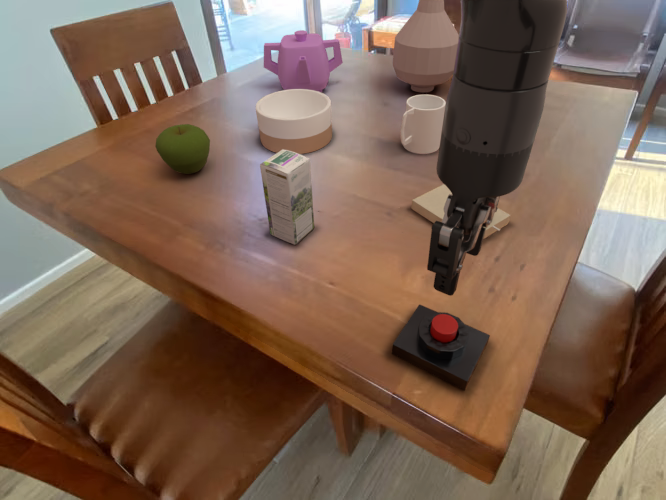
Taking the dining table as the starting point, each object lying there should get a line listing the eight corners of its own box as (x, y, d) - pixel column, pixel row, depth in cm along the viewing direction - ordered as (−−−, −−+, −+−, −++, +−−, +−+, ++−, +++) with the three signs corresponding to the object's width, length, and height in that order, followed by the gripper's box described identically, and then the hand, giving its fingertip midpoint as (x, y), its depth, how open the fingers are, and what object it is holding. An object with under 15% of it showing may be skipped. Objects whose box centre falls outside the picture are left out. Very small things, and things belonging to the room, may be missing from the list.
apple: (154, 177, 92) (139, 134, 85) (186, 154, 99) (174, 112, 92) (195, 187, 88) (183, 143, 82) (225, 163, 95) (215, 120, 89)
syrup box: (290, 218, 80) (281, 147, 70) (316, 229, 77) (310, 156, 67) (269, 235, 76) (257, 162, 66) (296, 246, 74) (287, 173, 64)
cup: (384, 151, 97) (386, 108, 90) (418, 133, 103) (422, 91, 96) (413, 164, 92) (418, 119, 86) (446, 144, 98) (453, 101, 92)
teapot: (303, 71, 137) (299, 18, 127) (349, 83, 128) (348, 27, 118) (259, 91, 126) (251, 35, 116) (306, 105, 117) (301, 46, 107)
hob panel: (515, 228, 75) (518, 218, 74) (477, 252, 71) (479, 242, 70) (448, 189, 85) (449, 180, 83) (411, 208, 81) (412, 199, 79)
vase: (444, 104, 115) (463, -29, 95) (382, 94, 121) (387, -32, 101) (460, 81, 126) (480, -42, 106) (402, 73, 132) (411, -44, 112)
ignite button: (459, 329, 55) (462, 320, 54) (450, 347, 53) (452, 338, 52) (436, 318, 56) (438, 310, 55) (426, 335, 54) (427, 327, 53)
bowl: (245, 144, 101) (239, 110, 96) (287, 116, 112) (284, 84, 107) (307, 161, 95) (304, 126, 89) (345, 129, 106) (344, 96, 100)
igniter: (486, 345, 57) (493, 326, 55) (464, 391, 52) (470, 372, 50) (417, 314, 62) (420, 295, 59) (391, 354, 57) (393, 335, 54)
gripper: (506, 181, 30) (466, 329, 41) (555, 106, 39) (511, 245, 50) (409, 154, 34) (396, 298, 45) (475, 91, 42) (450, 224, 53)
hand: (457, 270), depth 47 cm, fingers open, 6 cm apart
